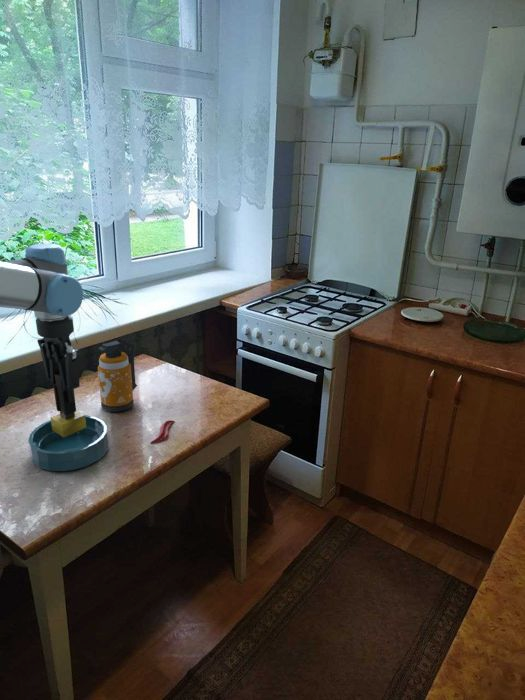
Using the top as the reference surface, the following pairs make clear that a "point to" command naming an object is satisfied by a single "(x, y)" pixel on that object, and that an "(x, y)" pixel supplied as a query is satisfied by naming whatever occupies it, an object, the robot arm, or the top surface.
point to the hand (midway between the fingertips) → (66, 410)
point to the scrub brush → (66, 423)
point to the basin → (68, 446)
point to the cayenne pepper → (163, 431)
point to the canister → (116, 375)
